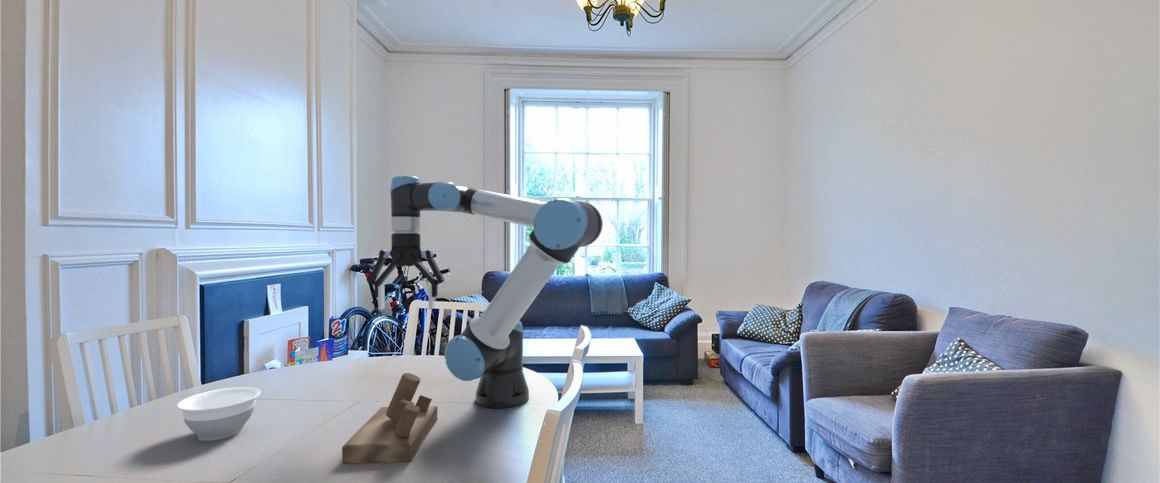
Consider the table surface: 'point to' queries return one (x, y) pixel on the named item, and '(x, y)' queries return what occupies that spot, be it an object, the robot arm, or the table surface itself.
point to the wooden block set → (406, 405)
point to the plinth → (387, 439)
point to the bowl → (219, 411)
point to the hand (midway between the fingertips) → (406, 309)
